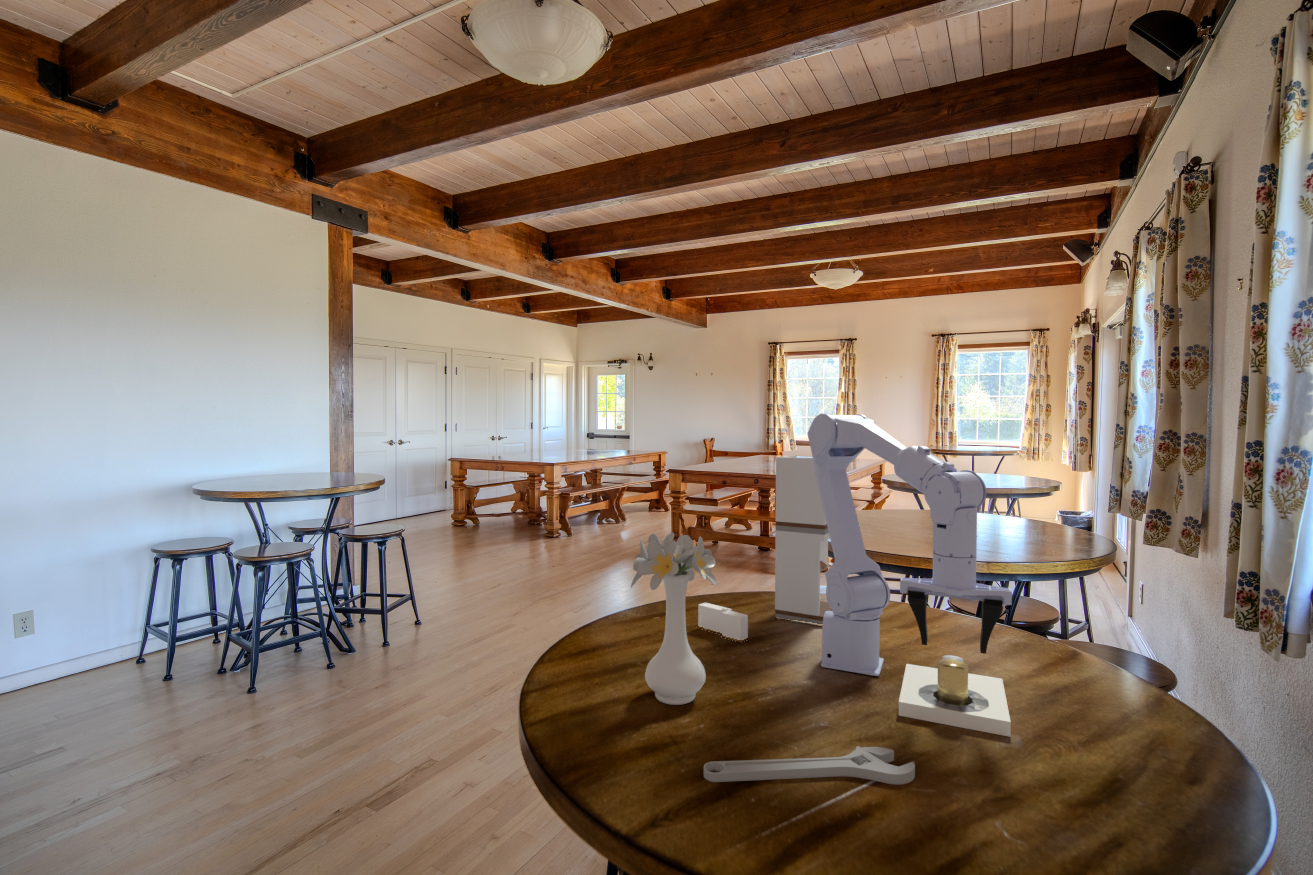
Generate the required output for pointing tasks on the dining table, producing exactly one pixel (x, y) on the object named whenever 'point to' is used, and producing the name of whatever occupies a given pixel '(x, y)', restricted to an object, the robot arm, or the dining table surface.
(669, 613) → the flower vase
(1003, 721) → the board
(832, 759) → the adjustable wrench
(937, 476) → the robot arm
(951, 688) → the brass cylinder
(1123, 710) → the dining table surface
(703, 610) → the napkin holder
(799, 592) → the white stacked column
